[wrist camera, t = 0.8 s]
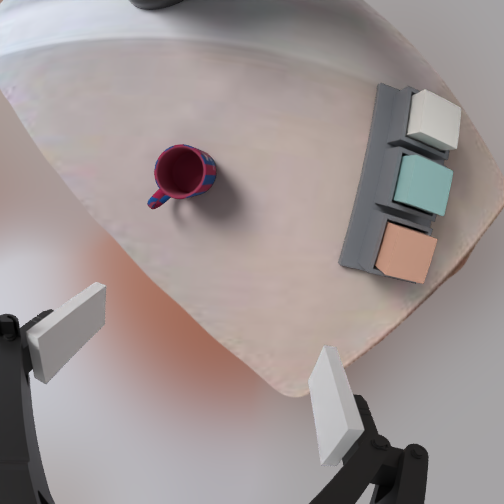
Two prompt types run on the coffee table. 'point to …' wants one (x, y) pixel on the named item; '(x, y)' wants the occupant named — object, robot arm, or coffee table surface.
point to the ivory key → (433, 121)
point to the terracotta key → (405, 253)
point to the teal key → (423, 184)
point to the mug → (182, 174)
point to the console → (385, 181)
